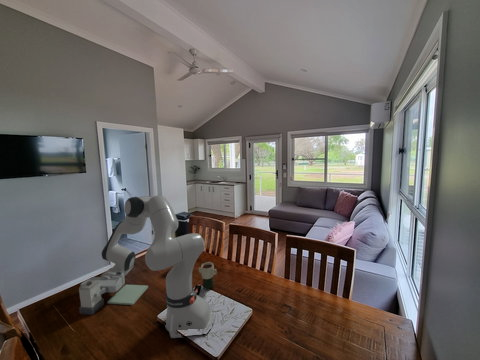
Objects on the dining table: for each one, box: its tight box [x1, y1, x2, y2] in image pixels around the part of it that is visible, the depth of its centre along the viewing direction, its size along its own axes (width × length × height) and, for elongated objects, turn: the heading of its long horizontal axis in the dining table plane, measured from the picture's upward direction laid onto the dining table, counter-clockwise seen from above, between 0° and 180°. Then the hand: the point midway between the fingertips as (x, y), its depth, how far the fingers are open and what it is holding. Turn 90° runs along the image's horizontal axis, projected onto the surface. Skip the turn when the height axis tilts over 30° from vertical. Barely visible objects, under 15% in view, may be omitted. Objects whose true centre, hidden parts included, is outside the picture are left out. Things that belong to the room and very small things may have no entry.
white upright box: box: [78, 281, 103, 308], centre depth 99 cm, size 6×6×11 cm
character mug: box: [198, 261, 218, 290], centre depth 114 cm, size 11×7×13 cm, turn 77°
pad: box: [107, 284, 149, 306], centre depth 109 cm, size 14×14×1 cm
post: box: [78, 298, 105, 316], centre depth 100 cm, size 7×7×9 cm
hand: (89, 295), depth 98 cm, fingers closed on white upright box, 6 cm apart
